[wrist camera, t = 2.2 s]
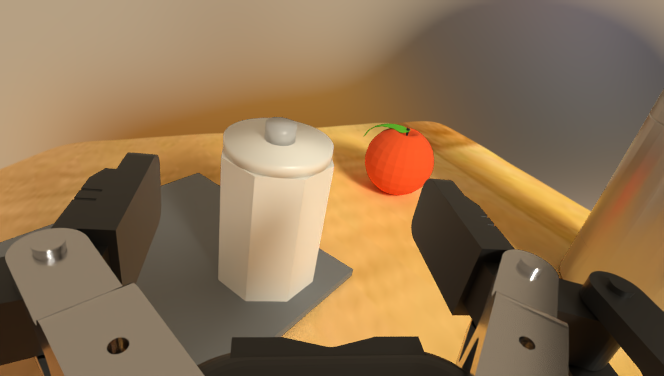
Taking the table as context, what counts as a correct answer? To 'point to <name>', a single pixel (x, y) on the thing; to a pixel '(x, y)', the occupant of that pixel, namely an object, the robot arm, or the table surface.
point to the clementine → (399, 160)
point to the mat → (211, 277)
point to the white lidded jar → (272, 206)
